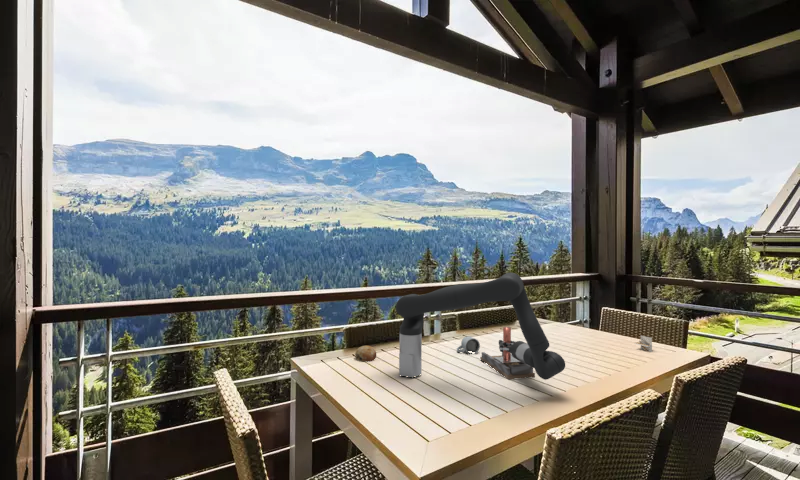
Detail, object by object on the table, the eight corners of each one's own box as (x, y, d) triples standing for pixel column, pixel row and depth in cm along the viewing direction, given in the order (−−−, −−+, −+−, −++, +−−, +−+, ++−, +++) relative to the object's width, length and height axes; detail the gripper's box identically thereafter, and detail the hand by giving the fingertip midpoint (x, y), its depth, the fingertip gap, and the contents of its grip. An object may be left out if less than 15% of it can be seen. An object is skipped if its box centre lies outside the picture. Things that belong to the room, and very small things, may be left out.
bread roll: (353, 366, 185) (349, 353, 181) (364, 352, 193) (360, 339, 190) (371, 369, 180) (367, 356, 177) (381, 355, 188) (377, 341, 185)
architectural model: (648, 353, 195) (648, 338, 195) (634, 350, 202) (634, 335, 202) (652, 352, 197) (652, 337, 197) (638, 349, 203) (638, 334, 203)
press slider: (520, 367, 167) (520, 329, 167) (502, 368, 165) (502, 330, 165) (511, 361, 175) (511, 325, 175) (493, 362, 173) (493, 326, 173)
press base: (534, 377, 160) (534, 364, 160) (508, 379, 157) (508, 366, 157) (503, 358, 185) (503, 347, 185) (480, 360, 182) (480, 349, 182)
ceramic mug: (473, 349, 201) (473, 334, 201) (480, 353, 193) (480, 338, 193) (454, 350, 199) (453, 335, 199) (460, 355, 191) (459, 339, 191)
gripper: (540, 342, 158) (517, 332, 175) (508, 344, 155) (489, 334, 171) (540, 361, 158) (517, 349, 175) (508, 363, 155) (489, 351, 171)
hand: (503, 342), depth 173 cm, fingers closed on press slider, 3 cm apart
